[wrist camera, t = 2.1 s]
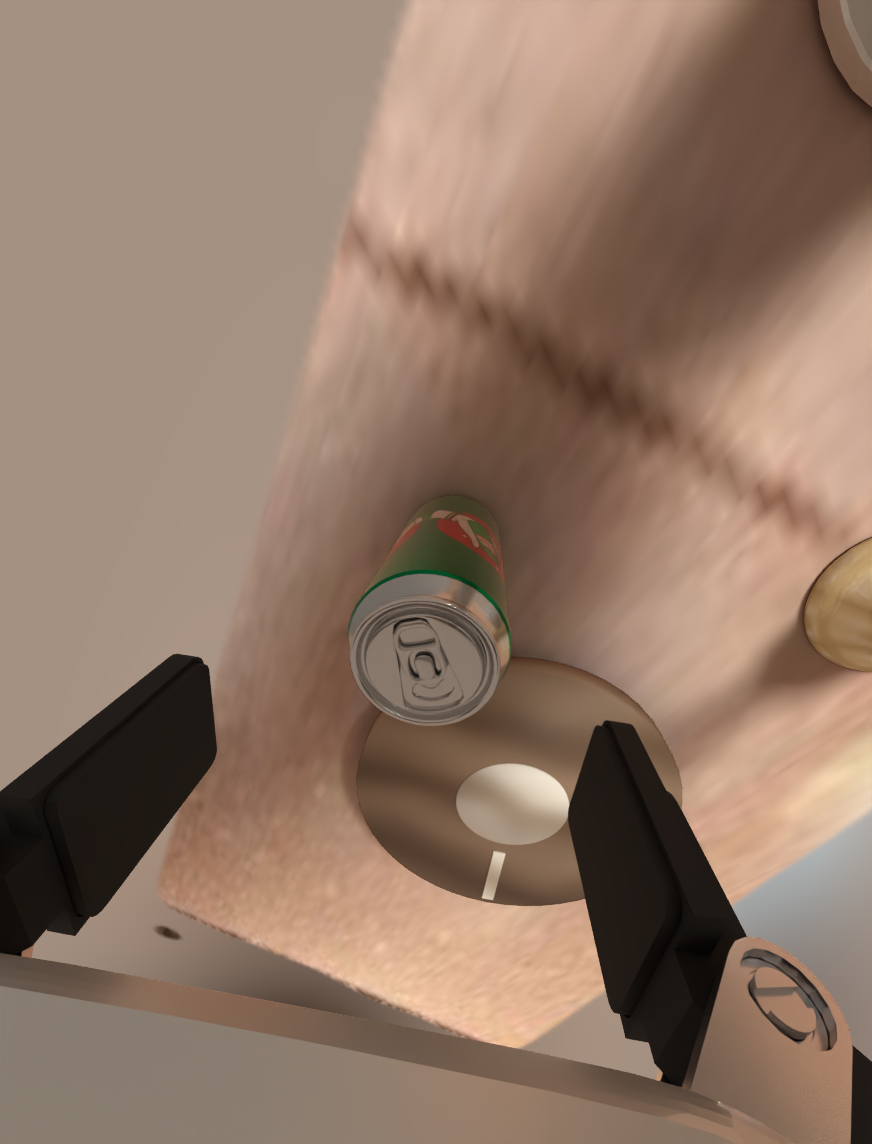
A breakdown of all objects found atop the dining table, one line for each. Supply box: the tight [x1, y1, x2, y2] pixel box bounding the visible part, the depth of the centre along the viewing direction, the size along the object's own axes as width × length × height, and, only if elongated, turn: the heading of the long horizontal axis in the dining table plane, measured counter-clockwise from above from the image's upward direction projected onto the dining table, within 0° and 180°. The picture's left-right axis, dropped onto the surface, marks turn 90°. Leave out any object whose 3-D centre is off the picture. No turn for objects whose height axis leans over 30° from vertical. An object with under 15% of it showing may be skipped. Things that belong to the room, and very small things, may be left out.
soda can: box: [348, 495, 512, 726], centre depth 17 cm, size 5×5×12 cm
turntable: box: [357, 657, 682, 906], centre depth 27 cm, size 20×20×2 cm
